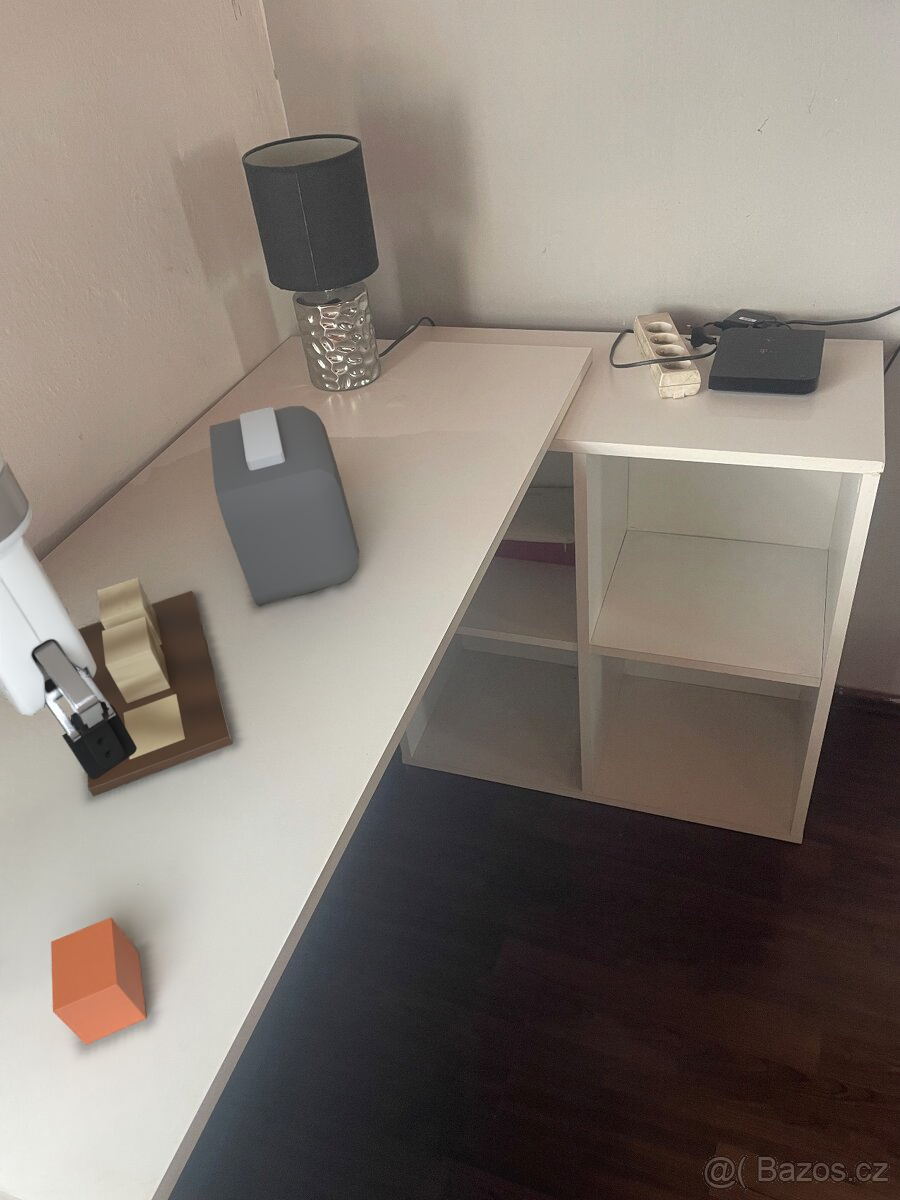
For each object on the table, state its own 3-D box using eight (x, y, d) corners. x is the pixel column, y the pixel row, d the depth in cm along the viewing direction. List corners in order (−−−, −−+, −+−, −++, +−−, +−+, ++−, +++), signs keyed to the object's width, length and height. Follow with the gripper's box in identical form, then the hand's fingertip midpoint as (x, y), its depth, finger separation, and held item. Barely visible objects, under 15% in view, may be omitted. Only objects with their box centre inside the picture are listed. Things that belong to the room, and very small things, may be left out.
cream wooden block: (170, 688, 79) (150, 649, 76) (127, 703, 78) (105, 665, 75) (163, 654, 83) (145, 616, 80) (122, 668, 82) (101, 630, 79)
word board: (232, 743, 74) (228, 735, 74) (93, 796, 72) (87, 788, 71) (195, 597, 91) (191, 589, 90) (80, 636, 88) (75, 628, 88)
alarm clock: (248, 528, 99) (204, 406, 89) (344, 503, 100) (312, 380, 90) (260, 617, 87) (211, 488, 76) (369, 588, 88) (336, 457, 78)
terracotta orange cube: (146, 1018, 57) (117, 984, 54) (85, 1045, 56) (52, 1011, 53) (139, 952, 61) (111, 916, 58) (82, 976, 60) (50, 941, 57)
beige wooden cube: (162, 644, 84) (143, 606, 81) (121, 658, 83) (100, 621, 80) (156, 614, 88) (138, 576, 84) (117, 627, 87) (97, 590, 84)
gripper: (-166, 493, 49) (-22, 696, 61) (-68, 619, 39) (85, 836, 50) (-38, 436, 53) (76, 638, 64) (83, 537, 42) (195, 758, 54)
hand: (80, 725), depth 57 cm, fingers open, 9 cm apart
